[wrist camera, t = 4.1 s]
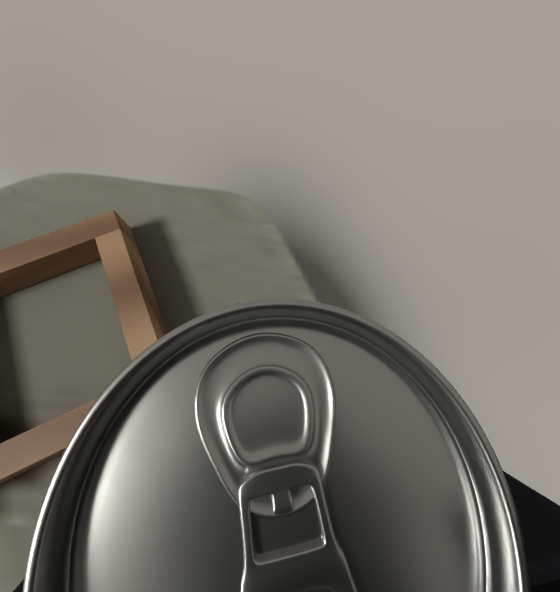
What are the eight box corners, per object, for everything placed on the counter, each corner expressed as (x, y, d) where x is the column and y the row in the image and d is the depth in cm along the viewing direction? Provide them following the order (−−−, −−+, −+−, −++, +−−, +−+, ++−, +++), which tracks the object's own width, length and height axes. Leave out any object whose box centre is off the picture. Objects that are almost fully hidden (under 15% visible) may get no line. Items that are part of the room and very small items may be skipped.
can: (315, 342, 16) (439, 240, 4) (343, 461, 14) (728, 894, 2) (210, 363, 15) (12, 311, 4) (223, 490, 13) (-121, 1298, 2)
